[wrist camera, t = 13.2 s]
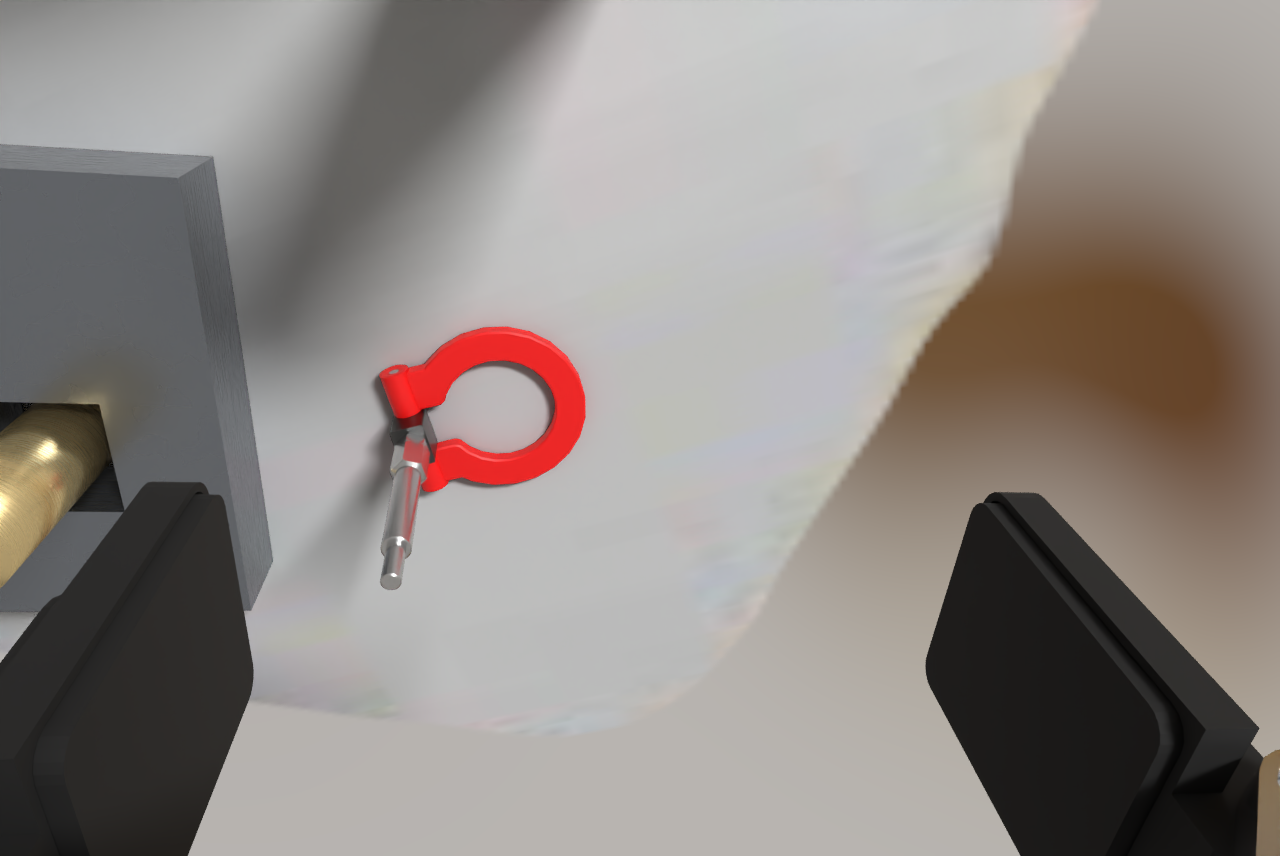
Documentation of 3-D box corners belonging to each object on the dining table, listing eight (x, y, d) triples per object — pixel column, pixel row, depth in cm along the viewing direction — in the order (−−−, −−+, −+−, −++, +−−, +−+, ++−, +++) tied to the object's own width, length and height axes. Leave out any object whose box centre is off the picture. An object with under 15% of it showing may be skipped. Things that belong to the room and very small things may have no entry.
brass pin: (34, 377, 40) (-127, 507, 30) (126, 379, 41) (-4, 508, 31) (54, 452, 42) (-91, 597, 32) (142, 453, 42) (25, 597, 33)
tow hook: (562, 305, 42) (372, 350, 41) (588, 431, 30) (327, 495, 30) (599, 451, 46) (427, 494, 45) (634, 611, 34) (405, 669, 34)
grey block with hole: (-185, 133, 34) (-267, 153, 31) (213, 156, 36) (178, 177, 33) (-34, 560, 44) (-83, 612, 41) (273, 561, 46) (251, 610, 43)
